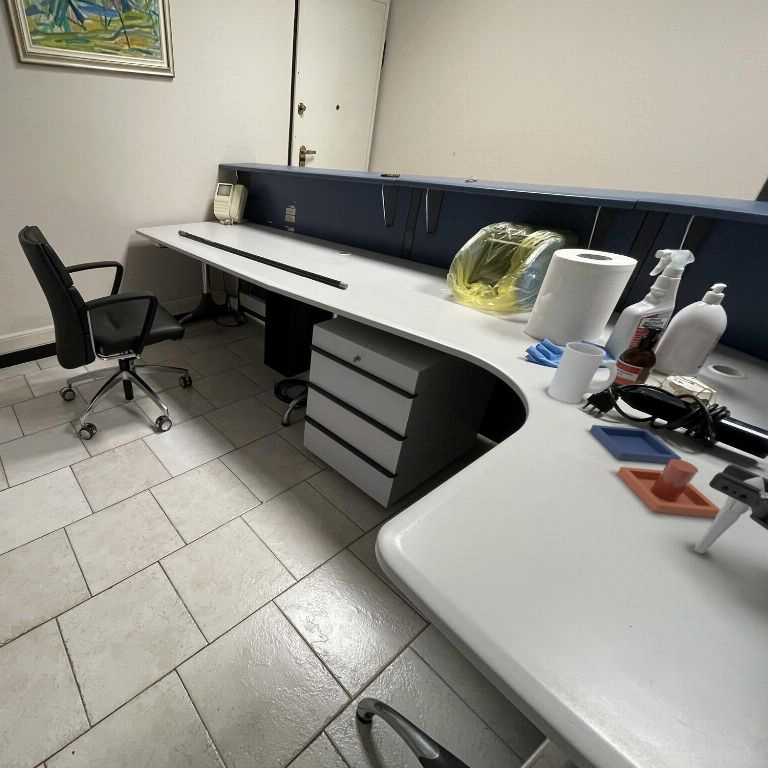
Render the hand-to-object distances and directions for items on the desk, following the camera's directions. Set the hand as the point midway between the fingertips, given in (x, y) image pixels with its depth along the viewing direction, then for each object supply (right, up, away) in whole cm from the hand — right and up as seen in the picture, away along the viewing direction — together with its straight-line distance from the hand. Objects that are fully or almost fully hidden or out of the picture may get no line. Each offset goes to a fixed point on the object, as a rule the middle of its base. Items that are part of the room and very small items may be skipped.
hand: (719, 474), depth 52 cm
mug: (+11, +8, +39) cm, 41 cm away
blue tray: (+10, -1, +23) cm, 25 cm away
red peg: (+6, -6, +13) cm, 15 cm away
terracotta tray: (+6, -6, +13) cm, 16 cm away
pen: (+1, -12, +4) cm, 13 cm away
